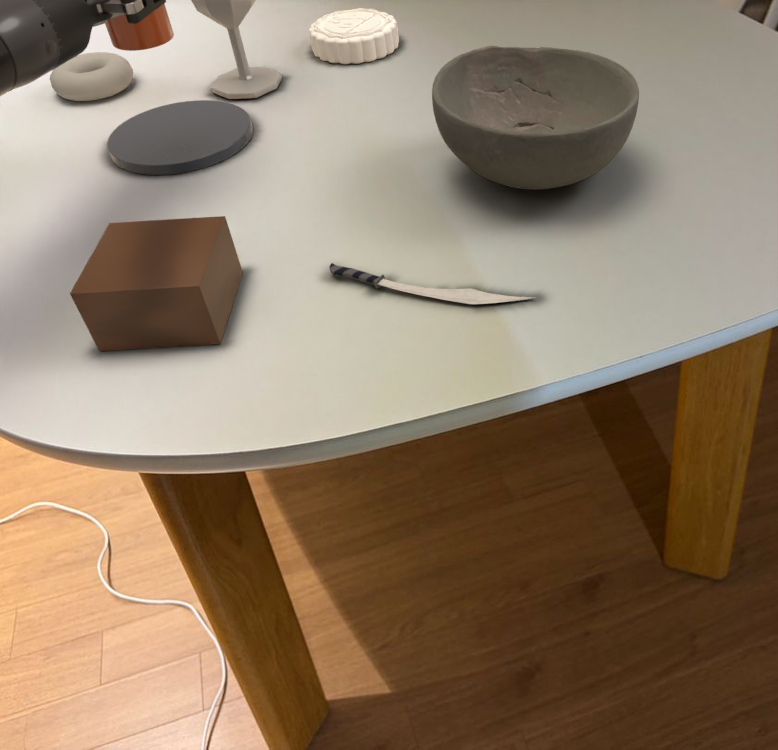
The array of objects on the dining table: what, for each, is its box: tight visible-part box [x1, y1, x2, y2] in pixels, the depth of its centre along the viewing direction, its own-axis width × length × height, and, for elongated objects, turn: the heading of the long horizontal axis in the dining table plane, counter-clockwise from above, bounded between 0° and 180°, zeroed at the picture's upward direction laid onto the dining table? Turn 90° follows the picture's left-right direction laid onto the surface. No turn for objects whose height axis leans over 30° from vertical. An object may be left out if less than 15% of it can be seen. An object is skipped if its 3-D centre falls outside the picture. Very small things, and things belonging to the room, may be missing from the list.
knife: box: [329, 262, 537, 305], centre depth 70 cm, size 19×2×1 cm, turn 74°
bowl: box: [431, 45, 640, 190], centre depth 81 cm, size 20×20×10 cm
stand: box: [69, 215, 244, 352], centre depth 67 cm, size 10×10×6 cm
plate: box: [106, 99, 254, 176], centre depth 92 cm, size 16×16×1 cm
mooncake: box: [308, 7, 400, 65], centre depth 110 cm, size 12×12×4 cm
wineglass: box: [190, 0, 283, 100], centre depth 96 cm, size 9×9×21 cm
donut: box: [49, 51, 134, 102], centre depth 103 cm, size 10×4×10 cm
